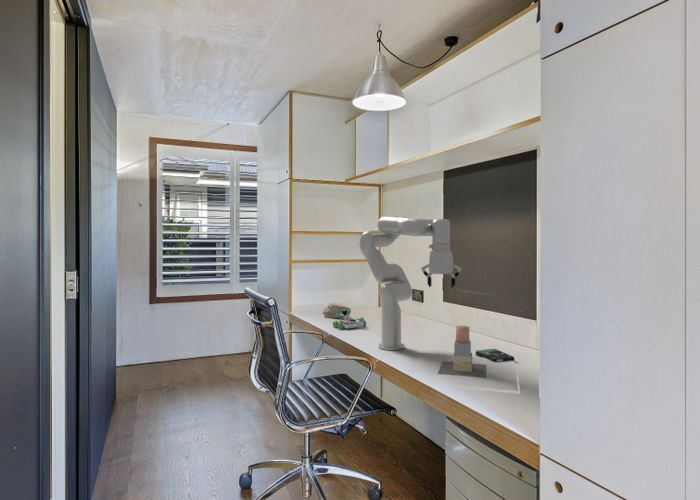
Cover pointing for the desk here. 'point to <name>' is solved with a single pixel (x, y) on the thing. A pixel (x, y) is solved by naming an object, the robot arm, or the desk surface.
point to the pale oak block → (462, 363)
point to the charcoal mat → (477, 371)
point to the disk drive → (494, 355)
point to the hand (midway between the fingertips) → (441, 286)
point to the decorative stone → (335, 310)
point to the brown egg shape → (462, 334)
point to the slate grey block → (462, 349)
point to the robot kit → (348, 321)
